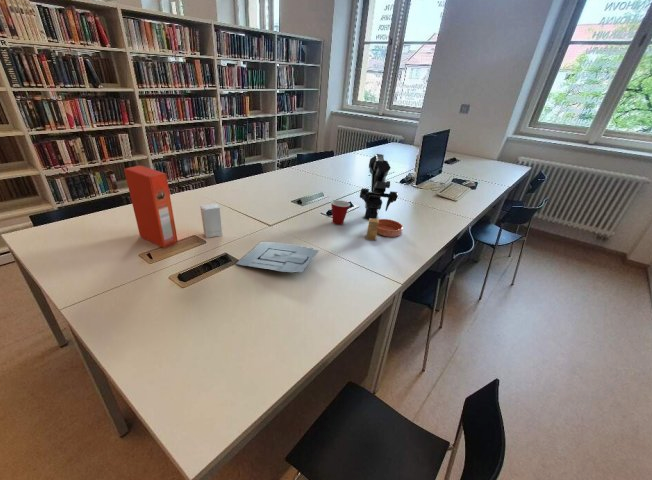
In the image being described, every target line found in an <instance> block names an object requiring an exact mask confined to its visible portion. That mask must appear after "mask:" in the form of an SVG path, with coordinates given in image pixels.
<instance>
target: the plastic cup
mask: <svg viewBox="0 0 652 480" xmlns="http://www.w3.org/2000/svg"><path fill="white" fill-rule="evenodd" d="M330 204H331V218H332V223H333V224H334V225H337V226H340V225H341V226H342V225H343V224H344V222H345V219H346V216H347V213H348V210H349V207H350V206H351V203H350V202H348V201H345V200H341V199H335V200H333V199H332V200H331V201H330Z"/></svg>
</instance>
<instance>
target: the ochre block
mask: <svg viewBox="0 0 652 480" xmlns="http://www.w3.org/2000/svg"><path fill="white" fill-rule="evenodd" d="M379 219H380V218H379ZM379 219H378V218H376V219H373V218H370V219H368V225H367V231H366V237H365V238H366V240H369V241H376V239H377V235H378V233H377V229H378V224H379Z"/></svg>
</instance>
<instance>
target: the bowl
mask: <svg viewBox="0 0 652 480" xmlns="http://www.w3.org/2000/svg"><path fill="white" fill-rule="evenodd" d="M402 233H403V224H401V222H399V221H397V220H393V219H388V218H379V224H378V229H377V235H380V236H382V237H383V236H384V237H389V238H395V237H399V236H401V235H402Z"/></svg>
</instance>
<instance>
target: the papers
mask: <svg viewBox="0 0 652 480" xmlns="http://www.w3.org/2000/svg"><path fill="white" fill-rule="evenodd" d="M319 251H320V249H314V248H313V247H307V246H304V245H298V244H293V243H292V244H291V243H283V242H276V241H263V240H261V241H260V242H259V243H258V244H257V245H256V246H254V248H253V249H252V250H251V251H250V252H248V253H247V254H246V255H245V256H243V257H242V258H240V259H239V260H238V261H236V262H235V265H239V266H244V267H252V268H258V269H265V270H271V271H276V272H281V273H286V272H287V273H291V274H292V273H294V272H296V273H303V272H304V271H305V269H306V268H307V267H308V265H309V264H310V263H311V262H312V260H313V259H314V258H315V257H316V255H317V254H318V253H319Z"/></svg>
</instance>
